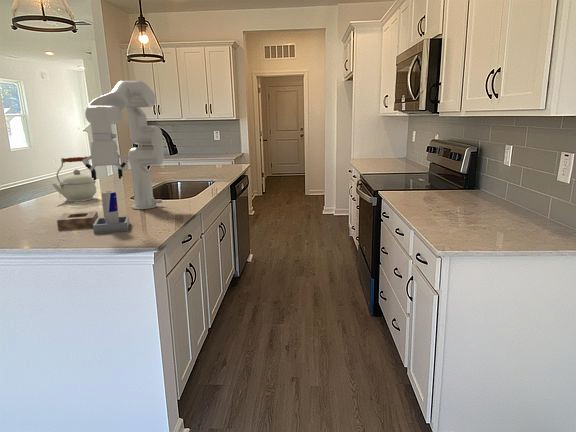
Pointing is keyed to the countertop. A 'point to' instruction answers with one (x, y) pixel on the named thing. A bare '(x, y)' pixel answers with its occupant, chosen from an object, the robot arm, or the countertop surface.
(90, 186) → the kettle
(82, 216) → the socket block
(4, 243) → the countertop surface
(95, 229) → the tray
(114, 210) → the beverage can
